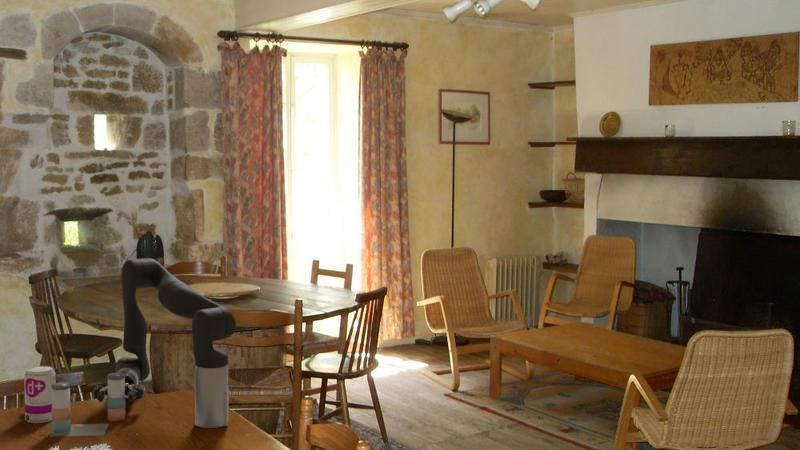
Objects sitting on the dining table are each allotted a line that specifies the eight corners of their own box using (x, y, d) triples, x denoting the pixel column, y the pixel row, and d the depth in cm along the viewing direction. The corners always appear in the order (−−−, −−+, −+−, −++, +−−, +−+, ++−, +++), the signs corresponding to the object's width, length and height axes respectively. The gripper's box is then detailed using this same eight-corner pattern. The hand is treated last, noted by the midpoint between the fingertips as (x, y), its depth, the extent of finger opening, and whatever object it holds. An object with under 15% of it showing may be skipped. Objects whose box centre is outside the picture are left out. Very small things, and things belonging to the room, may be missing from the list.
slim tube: (126, 417, 264) (126, 372, 263) (123, 422, 260) (123, 376, 258) (109, 417, 264) (108, 372, 262) (106, 423, 259) (105, 377, 258)
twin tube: (72, 429, 251) (72, 382, 250) (68, 435, 246) (68, 386, 245) (54, 429, 250) (53, 382, 249) (50, 435, 245) (49, 387, 244)
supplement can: (45, 426, 255) (44, 373, 254) (18, 423, 257) (18, 371, 255) (61, 417, 263) (61, 366, 261) (35, 415, 265) (35, 364, 263)
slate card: (109, 425, 257) (109, 423, 257) (103, 437, 247) (103, 435, 247) (57, 426, 255) (57, 424, 255) (49, 438, 245) (49, 436, 245)
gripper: (99, 370, 274) (88, 385, 258) (148, 370, 276) (141, 385, 260) (99, 395, 275) (88, 411, 258) (148, 394, 277) (141, 410, 260)
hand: (115, 398), depth 259 cm, fingers open, 7 cm apart
